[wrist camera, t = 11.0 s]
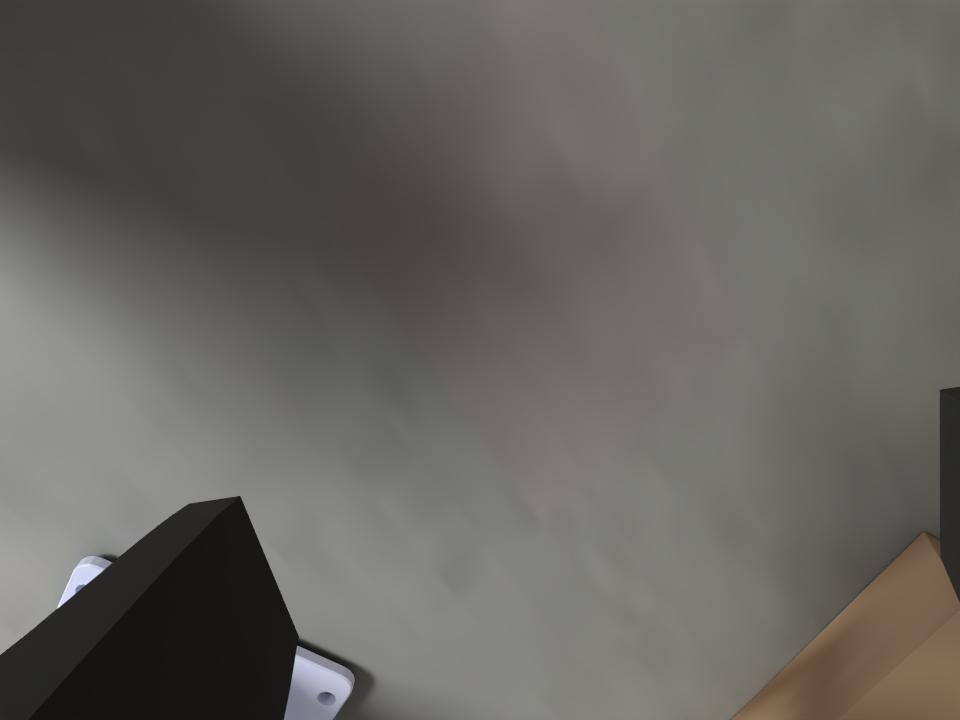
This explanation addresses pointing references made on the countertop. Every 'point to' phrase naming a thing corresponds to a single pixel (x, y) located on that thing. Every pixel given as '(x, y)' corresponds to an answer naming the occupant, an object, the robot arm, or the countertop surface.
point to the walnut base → (879, 652)
